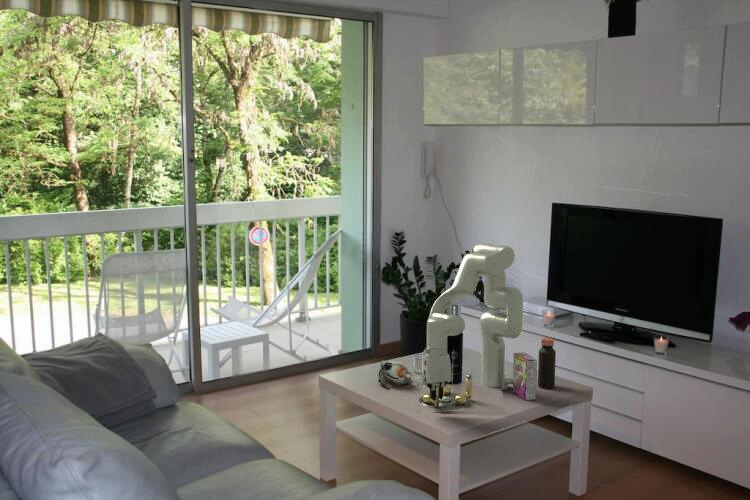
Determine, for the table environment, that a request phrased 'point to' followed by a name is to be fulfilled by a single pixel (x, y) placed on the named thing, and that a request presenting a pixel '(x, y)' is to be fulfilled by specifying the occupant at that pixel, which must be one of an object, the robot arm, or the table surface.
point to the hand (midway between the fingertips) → (436, 398)
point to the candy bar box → (524, 376)
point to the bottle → (546, 364)
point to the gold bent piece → (463, 398)
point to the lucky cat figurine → (393, 374)
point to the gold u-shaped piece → (447, 391)
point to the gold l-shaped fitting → (428, 400)
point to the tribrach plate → (446, 403)
